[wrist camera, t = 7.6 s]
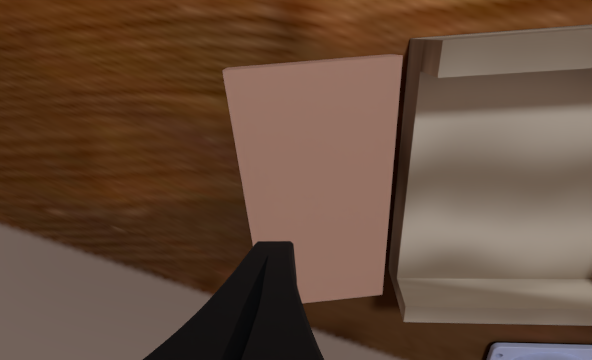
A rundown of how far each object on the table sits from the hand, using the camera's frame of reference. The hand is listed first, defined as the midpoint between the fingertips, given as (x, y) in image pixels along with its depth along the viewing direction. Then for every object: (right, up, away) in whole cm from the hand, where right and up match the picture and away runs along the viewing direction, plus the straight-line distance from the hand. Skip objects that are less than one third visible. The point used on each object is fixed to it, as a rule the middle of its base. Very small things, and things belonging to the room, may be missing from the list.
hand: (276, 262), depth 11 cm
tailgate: (+5, +2, +4) cm, 7 cm away
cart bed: (+12, +3, +5) cm, 14 cm away
